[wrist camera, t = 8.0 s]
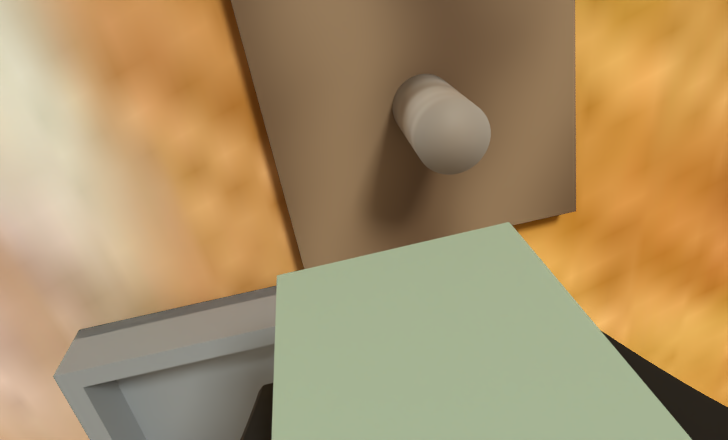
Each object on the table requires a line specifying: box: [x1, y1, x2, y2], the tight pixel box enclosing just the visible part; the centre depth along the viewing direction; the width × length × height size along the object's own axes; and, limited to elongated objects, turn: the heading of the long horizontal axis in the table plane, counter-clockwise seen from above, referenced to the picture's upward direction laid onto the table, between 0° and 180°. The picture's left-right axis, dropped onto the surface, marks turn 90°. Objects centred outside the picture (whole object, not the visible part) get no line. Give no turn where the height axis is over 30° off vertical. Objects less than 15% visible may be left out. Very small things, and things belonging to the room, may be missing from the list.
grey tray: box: [53, 286, 277, 440], centre depth 21 cm, size 9×9×2 cm
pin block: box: [231, 0, 576, 269], centre depth 16 cm, size 10×10×4 cm
